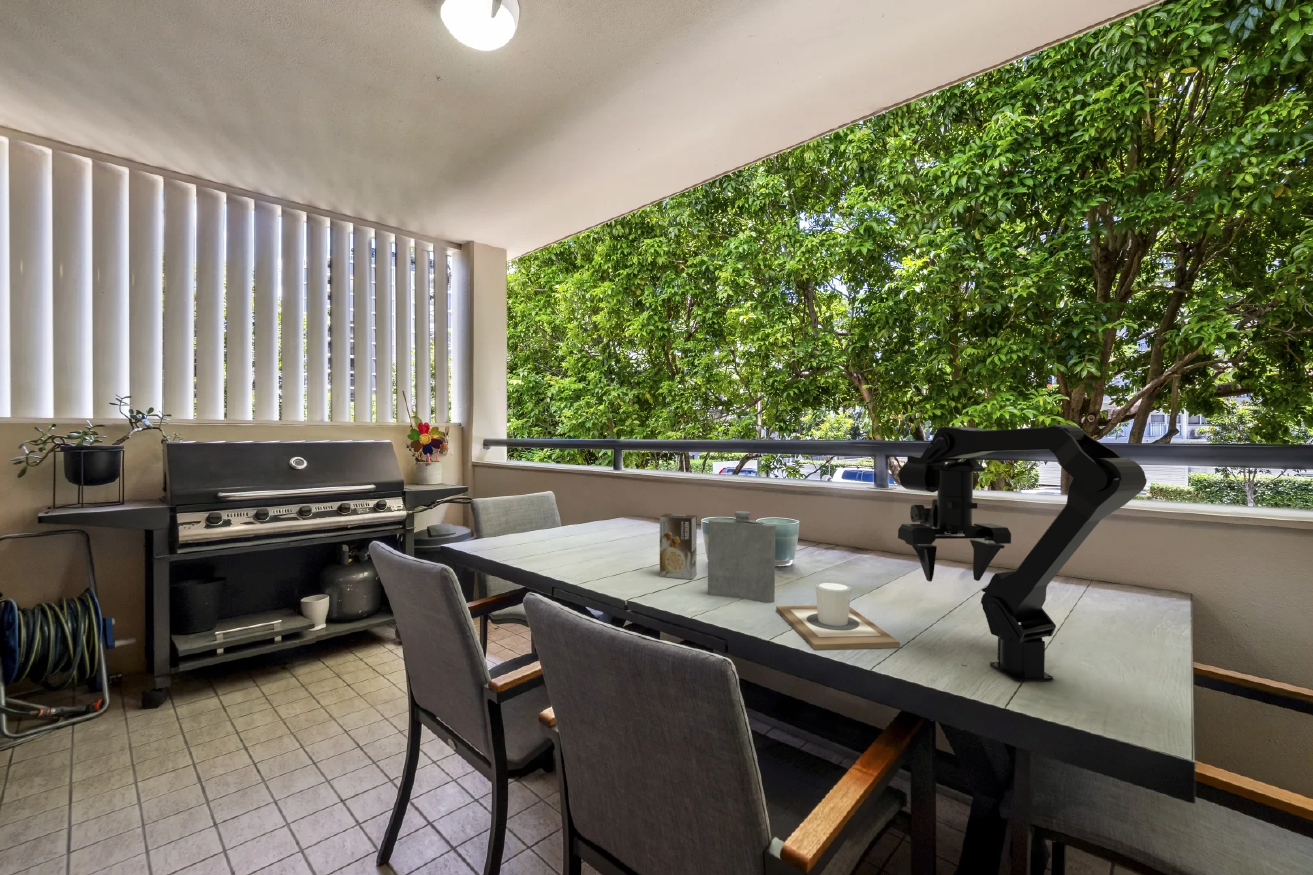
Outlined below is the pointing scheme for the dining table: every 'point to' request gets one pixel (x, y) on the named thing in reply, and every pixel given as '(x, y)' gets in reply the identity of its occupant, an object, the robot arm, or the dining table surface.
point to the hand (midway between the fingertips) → (953, 580)
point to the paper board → (836, 630)
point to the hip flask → (741, 558)
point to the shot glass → (833, 603)
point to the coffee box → (678, 546)
